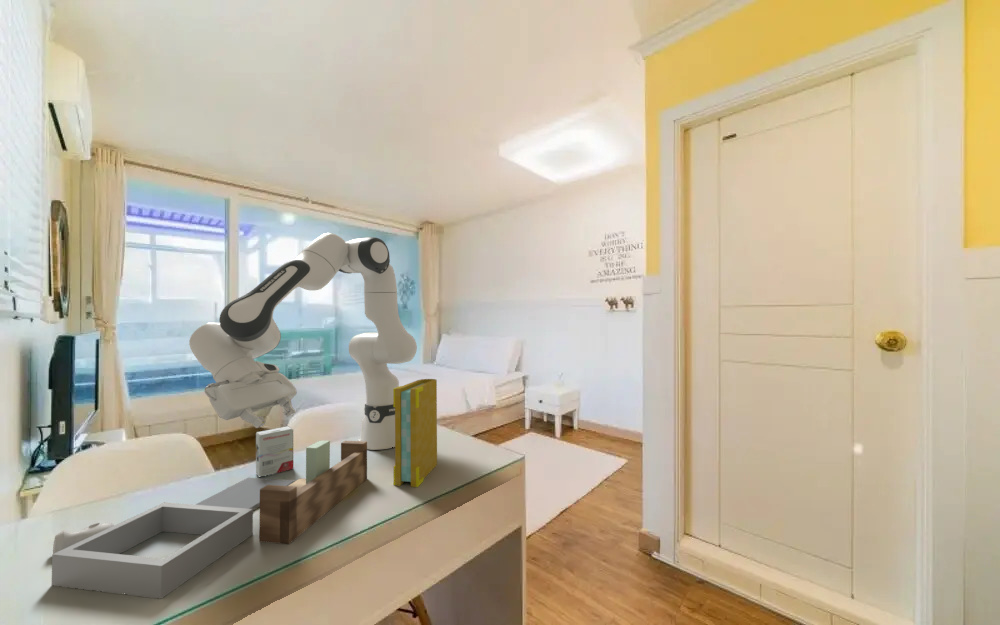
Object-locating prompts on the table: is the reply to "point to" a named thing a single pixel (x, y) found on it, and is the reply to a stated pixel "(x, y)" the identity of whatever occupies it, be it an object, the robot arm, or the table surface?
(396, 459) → the book
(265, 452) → the ink box
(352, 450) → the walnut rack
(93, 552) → the grey tray frame
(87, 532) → the pale two-lobed sculpture
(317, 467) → the pale green block
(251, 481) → the slate mat
